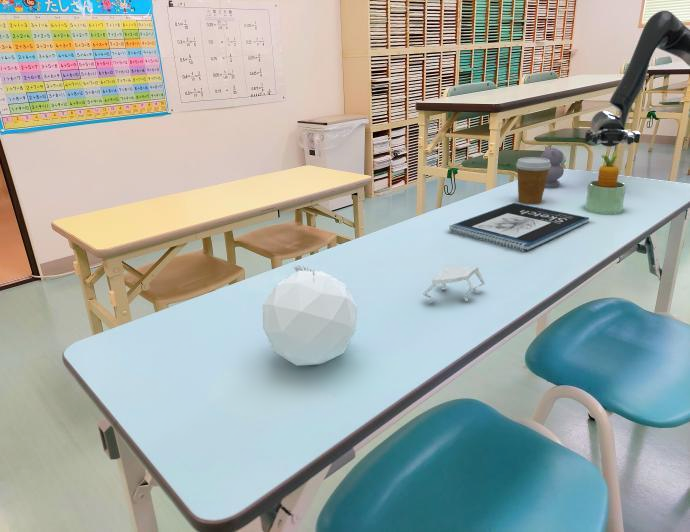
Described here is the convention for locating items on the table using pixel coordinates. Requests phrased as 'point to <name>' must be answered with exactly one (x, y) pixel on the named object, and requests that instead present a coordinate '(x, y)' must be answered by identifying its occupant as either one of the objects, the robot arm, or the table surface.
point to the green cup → (605, 198)
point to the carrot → (608, 173)
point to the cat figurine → (553, 166)
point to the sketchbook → (519, 226)
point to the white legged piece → (455, 278)
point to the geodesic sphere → (309, 317)
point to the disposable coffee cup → (532, 178)
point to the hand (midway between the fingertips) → (613, 140)
